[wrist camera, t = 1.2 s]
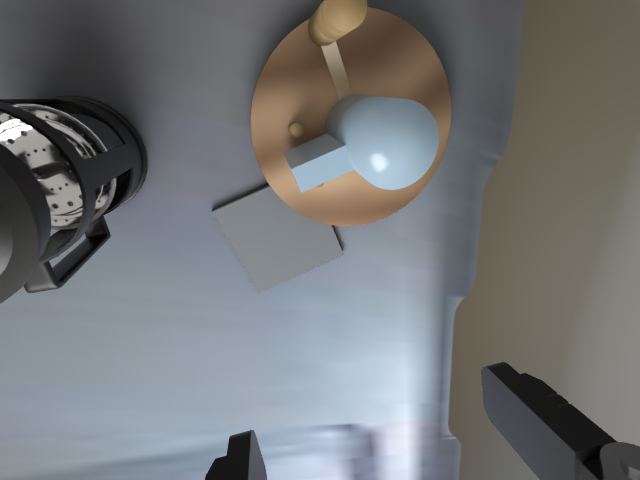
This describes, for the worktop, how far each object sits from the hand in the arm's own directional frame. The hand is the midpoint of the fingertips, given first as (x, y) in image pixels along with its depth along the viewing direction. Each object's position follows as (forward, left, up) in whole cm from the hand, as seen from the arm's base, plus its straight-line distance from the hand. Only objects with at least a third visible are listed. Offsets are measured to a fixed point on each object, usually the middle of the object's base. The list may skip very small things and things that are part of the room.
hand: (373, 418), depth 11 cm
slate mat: (+2, -2, -25) cm, 25 cm away
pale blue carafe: (-5, +6, -22) cm, 23 cm away
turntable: (-5, +8, -24) cm, 25 cm away
